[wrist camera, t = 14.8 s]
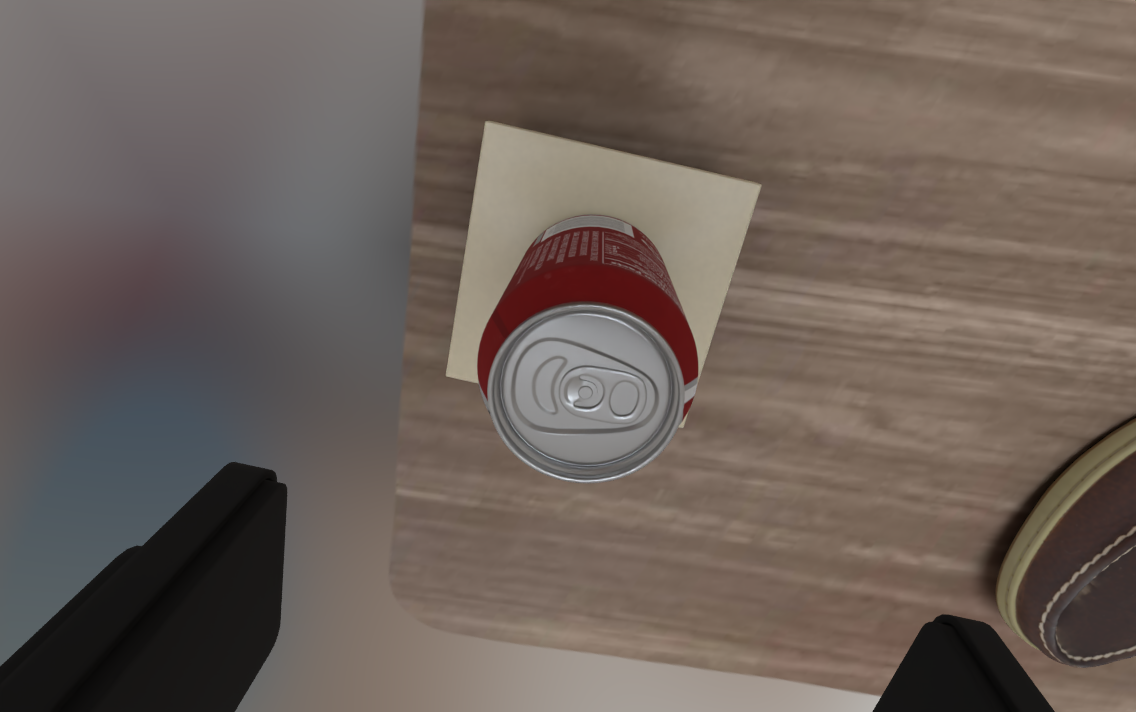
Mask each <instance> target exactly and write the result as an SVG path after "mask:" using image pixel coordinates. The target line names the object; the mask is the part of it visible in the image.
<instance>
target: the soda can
mask: <svg viewBox="0 0 1136 712" xmlns="http://www.w3.org/2000/svg"><path fill="white" fill-rule="evenodd" d="M477 375H478V382H479V387H480V391H481V395H482V398H483V400H484V403H485V405H486V407H487V410H488V412H489V413H490V415H491V418H492V421H493V424H494V426H495V428H496V430H497V432H498V434H499V435H500V437H501V439H502V440H503V442H504V443H505V444H506V446H507V447H508V448H509V449H510V450H511V451H512V452H513V453H514V454H515V455H516V456H517V457H518V458H519V459H520V460H521V461H523V462H524V463H525V464H527V465H528V466H530V467H531V468H533V469H535V470H537V471H538V472H540V473H542V474H545V475H547V476H550V477H553V478H556V479H559V480H563V481H568V482H575V483H600V482H607V481H612V480H616V479H619V478H622V477H625V476H627V475H630V474H632V473H634V472H636V471H638V470H640V469H641V468H643V467H645V466H646V465H648V464H649V463H650V462H651V461H653V460H654V459H655V458H656V457H657V456H658V455H659V454H660V453H661V452H662V451H663V450H664V449H665V448H666V446H667V445H668V444H669V442H670V441H671V439H672V438H673V436H674V434H675V433H676V430H677V428H678V427H679V425H680V424H681V423H682V421H683V420H684V418H685V416H686V414H687V413H688V411H689V408H690V406H691V404H692V401H693V398H694V395H695V392H696V387H697V382H698V354H697V348H696V344H695V340H694V337H693V334H692V331H691V329H690V326H689V324H688V321H687V319H686V316H685V314H684V311H683V309H682V306H681V304H680V301H679V299H678V296H677V294H676V291H675V289H674V286H673V284H672V281H671V279H670V276H669V274H668V271H667V269H666V266H665V264H664V261H663V259H662V257H661V255H660V253H659V251H658V250H657V248H656V247H655V245H654V244H653V243H652V241H651V240H650V239H649V238H648V237H647V236H646V235H645V234H644V233H643V232H642V231H640V230H639V229H638V228H636V227H635V226H633V225H631V224H630V223H628V222H626V221H623V220H621V219H618V218H615V217H612V216H607V215H600V214H585V215H578V216H573V217H570V218H567V219H564V220H561V221H559V222H557V223H555V224H554V225H552V226H550V227H549V228H547V229H546V230H545V231H544V232H542V233H541V234H540V235H539V236H538V237H537V238H536V239H535V240H534V241H533V243H532V244H531V245H530V247H529V248H528V250H527V251H526V253H525V255H524V257H523V258H522V260H521V262H520V264H519V266H518V268H517V269H516V271H515V273H514V275H513V277H512V279H511V280H510V282H509V284H508V286H507V288H506V289H505V291H504V293H503V295H502V297H501V299H500V300H499V302H498V304H497V306H496V308H495V309H494V311H493V313H492V315H491V317H490V319H489V320H488V322H487V324H486V327H485V329H484V332H483V334H482V337H481V341H480V345H479V350H478V358H477Z"/></svg>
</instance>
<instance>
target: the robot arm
mask: <svg viewBox="0 0 1136 712" xmlns="http://www.w3.org/2000/svg"><path fill="white" fill-rule="evenodd" d="M286 508H287V487H286V485H285V484H283V483H278V482H277V477H276V473H275V472H274V471H273V470H269V469H265V468H260V467H255V466H250V465H246V464H241V463H237V462H231V463H229V464H227V465H226V466H224V467H223V468H222V469H221V470H220V471H219V472H218V473H217V474H216V475H215V476H214V477H213V478H212V479H211V480H210V481H209V482H208V483H207V484H206V485H205V486H204V487H203V488H202V489H201V490H200V491H199V492H198V493H197V494H195V495H194V496H193V497H192V498H191V499H190V500H189V501H188V502H187V503H186V504H185V505H184V506H183V507H182V508H181V509H180V510H179V511H178V512H177V513H176V514H175V515H174V516H173V517H172V518H171V519H170V520H169V521H168V522H167V523H166V524H165V525H163V526H162V528H160V529H159V530H158V531H157V532H156V533H155V534H154V535H153V536H152V537H151V538H150V539H149V540H148V541H147V542H146V543H145V544H144V545H143V546H134V547H132V548H129V549H127V550H126V551H124V552H123V553H121V554H120V555H119V556H118V557H117V558H115V559H114V560H113V561H112V562H111V563H110V564H109V565H108V566H107V567H106V568H104V569H103V570H102V571H101V572H100V573H99V574H98V575H97V576H96V577H95V578H94V579H93V580H92V581H91V582H90V583H89V584H87V585H86V586H85V587H84V589H82V590H81V591H80V592H79V593H78V594H77V595H76V596H75V597H74V598H73V599H72V600H70V601H69V602H68V603H67V604H66V605H65V606H64V607H63V608H62V609H61V610H60V611H59V612H58V613H57V614H56V615H55V616H54V617H52V618H51V619H50V620H49V621H48V622H47V623H46V624H45V625H44V626H43V627H42V628H41V629H40V630H39V631H38V632H36V634H34V635H33V636H32V637H31V638H30V639H29V640H28V641H27V642H26V643H25V644H24V645H23V646H22V647H21V648H19V649H18V650H17V651H16V652H15V653H14V654H13V655H12V656H11V657H10V658H9V659H8V660H7V661H6V662H5V663H4V664H2V665H1V666H0V712H235V710H236V709H237V707H238V705H239V704H240V702H241V700H242V699H243V697H244V695H245V694H246V692H247V690H248V689H249V687H250V685H251V684H252V682H253V680H254V679H255V677H256V675H257V674H258V672H259V670H260V669H261V667H262V665H263V663H264V662H265V661H266V659H267V657H268V656H269V654H270V652H271V650H272V648H273V646H274V644H275V642H276V639H277V636H278V632H279V628H280V620H281V602H282V582H283V564H284V545H285V526H286ZM873 712H1055V711H1054V710H1053V709H1052V707H1051V706H1050V705H1049V703H1048V702H1047V701H1046V699H1045V698H1044V696H1043V695H1042V694H1041V692H1040V691H1039V690H1038V688H1037V687H1036V686H1035V684H1034V683H1033V682H1032V680H1031V679H1030V677H1029V676H1028V675H1027V673H1026V672H1025V671H1024V669H1023V668H1022V667H1021V665H1020V664H1019V663H1018V661H1017V660H1016V658H1015V657H1014V656H1013V654H1012V653H1011V652H1010V650H1009V649H1008V648H1007V646H1006V645H1005V644H1004V642H1003V641H1002V639H1001V638H1000V637H999V635H998V634H997V633H996V631H995V630H994V629H993V628H992V627H991V626H990V625H988V624H986V623H984V622H980V621H975V620H971V619H966V618H961V617H957V616H952V615H940V616H938V617H936V618H935V620H934V621H933V622H928V623H926V624H925V625H924V626H923V627H922V628H921V630H920V632H919V633H918V635H917V637H916V639H915V640H914V642H913V644H912V645H911V647H910V649H909V651H908V652H907V654H906V656H905V657H904V659H903V661H902V662H901V664H900V666H899V668H898V669H897V671H896V673H895V674H894V676H893V678H892V679H891V681H890V683H889V685H888V686H887V688H886V690H885V691H884V693H883V695H882V696H881V698H880V700H879V702H878V703H877V705H876V707H875V708H874V710H873Z"/></svg>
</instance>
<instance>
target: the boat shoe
mask: <svg viewBox="0 0 1136 712" xmlns="http://www.w3.org/2000/svg"><path fill="white" fill-rule="evenodd" d="M995 596H996V603H997V607H998V610H999V612H1000V614H1001V616H1002V618H1003V619H1004V621H1005V622H1006V624H1007V625H1008V626H1009V627H1010V628H1011V629H1012V630H1013V632H1014V633H1016V634H1017V635H1018V636H1019V637H1021V638H1022V639H1023V640H1024V641H1025V642H1027V643H1028V644H1030V645H1031V646H1032V647H1034V648H1036V649H1038V650H1040V651H1042V652H1043V653H1044V654H1045V655H1047V656H1048V657H1049V658H1051V659H1053V660H1055V661H1057V662H1059V663H1062V664H1066V665H1069V666H1072V667H1083V668H1087V667H1096V666H1100V665H1104V664H1108V663H1111V662H1114V661H1118V660H1122V659H1126V658H1131V657H1133V656H1136V418H1135V419H1133V420H1131V421H1130V422H1128V423H1126V424H1125V425H1123V426H1122V427H1120V428H1118V429H1117V430H1115V431H1114V432H1112V433H1110V434H1109V435H1108V436H1106V437H1105V438H1104V439H1102V440H1101V441H1099V442H1098V443H1097V444H1095V445H1094V446H1093V447H1091V448H1090V449H1089V450H1087V451H1086V452H1085V453H1084V454H1082V455H1081V456H1080V457H1079V458H1078V459H1076V460H1075V461H1074V462H1073V463H1072V464H1071V465H1070V466H1069V467H1068V468H1067V469H1066V470H1065V471H1064V472H1063V473H1062V474H1061V475H1060V476H1059V477H1058V478H1057V479H1056V480H1055V481H1054V482H1053V483H1052V484H1051V485H1050V487H1049V488H1048V489H1047V490H1046V492H1045V493H1044V494H1043V496H1042V497H1041V498H1040V500H1039V501H1038V502H1037V504H1036V505H1035V507H1034V508H1033V510H1032V511H1031V513H1030V514H1029V516H1028V517H1027V519H1026V520H1025V522H1024V523H1023V525H1022V526H1021V528H1020V529H1019V531H1018V533H1017V535H1016V536H1015V538H1014V540H1013V541H1012V543H1011V545H1010V547H1009V549H1008V551H1007V553H1006V555H1005V557H1004V560H1003V562H1002V565H1001V567H1000V570H999V574H998V577H997V583H996V592H995Z"/></svg>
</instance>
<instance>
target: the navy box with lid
mask: <svg viewBox="0 0 1136 712" xmlns="http://www.w3.org/2000/svg"><path fill="white" fill-rule="evenodd" d="M760 189H761V184H759V183H756V182H753V181H748V180H744V179H740V178H736V177H731V176H727V175H723V174H718V173H714V172H710V171H705V170H701V169H697V168H692V167H688V166H684V165H679V164H675V163H671V162H667V161H662V160H658V159H654V158H649V157H645V156H641V155H636V154H632V153H628V152H623V151H619V150H615V149H610V148H606V147H602V146H598V145H593V144H589V143H585V142H580V141H576V140H572V139H567V138H563V137H559V136H554V135H550V134H546V133H541V132H537V131H533V130H529V129H524V128H520V127H516V126H511V125H507V124H503V123H498V122H494V121H486V122H485V126H484V133H483V139H482V146H481V152H480V158H479V165H478V171H477V178H476V184H475V191H474V197H473V203H472V210H471V216H470V223H469V229H468V235H467V242H466V248H465V255H464V261H463V267H462V274H461V280H460V287H459V293H458V299H457V306H456V312H455V319H454V325H453V331H452V338H451V344H450V351H449V357H448V364H447V370H446V376H447V377H451V378H456V379H460V380H465V381H470V382H474V383H479V382H478V375H477V358H478V350H479V345H480V341H481V337H482V334H483V332H484V329H485V327H486V324H487V322H488V320H489V319H490V317H491V315H492V313H493V311H494V309H495V308H496V306H497V304H498V302H499V300H500V299H501V297H502V295H503V293H504V291H505V289H506V288H507V286H508V284H509V282H510V280H511V279H512V277H513V275H514V273H515V271H516V269H517V268H518V266H519V264H520V262H521V260H522V258H523V257H524V255H525V253H526V251H527V250H528V248H529V247H530V245H531V244H532V243H533V241H534V240H535V239H536V238H537V237H538V236H539V235H540V234H541V233H542V232H544V231H545V230H546V229H547V228H549V227H550V226H552V225H554V224H555V223H557V222H559V221H561V220H564V219H567V218H570V217H573V216H578V215H585V214H600V215H607V216H612V217H615V218H618V219H621V220H623V221H626V222H628V223H630V224H631V225H633V226H635V227H636V228H638V229H639V230H640V231H642V232H643V233H644V234H645V235H646V236H647V237H648V238H649V239H650V240H651V241H652V243H653V244H654V245H655V247H656V248H657V250H658V251H659V253H660V255H661V257H662V259H663V261H664V264H665V266H666V269H667V271H668V274H669V276H670V279H671V281H672V284H673V286H674V289H675V291H676V294H677V296H678V299H679V301H680V304H681V306H682V309H683V311H684V314H685V316H686V319H687V321H688V324H689V326H690V329H691V331H692V334H693V337H694V340H695V344H696V348H697V354H698V381H699V378H700V375H701V371H702V368H703V365H704V362H705V359H706V356H707V353H708V350H709V347H710V344H711V341H712V337H713V334H714V331H715V328H716V325H717V322H718V319H719V316H720V313H721V310H722V307H723V303H724V300H725V297H726V294H727V291H728V288H729V285H730V282H731V279H732V276H733V273H734V269H735V266H736V263H737V260H738V257H739V254H740V251H741V248H742V245H743V242H744V239H745V235H746V232H747V229H748V226H749V223H750V220H751V217H752V214H753V211H754V208H755V205H756V201H757V198H758V195H759V192H760ZM697 384H698V382H697ZM689 409H690V408H689ZM688 412H689V411H688ZM687 415H688V413H687V414H686V416H685V418H684V420H683V421H682V423H681V424H680V425H679V428H683V427H684V424H685V421H686V418H687Z"/></svg>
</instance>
